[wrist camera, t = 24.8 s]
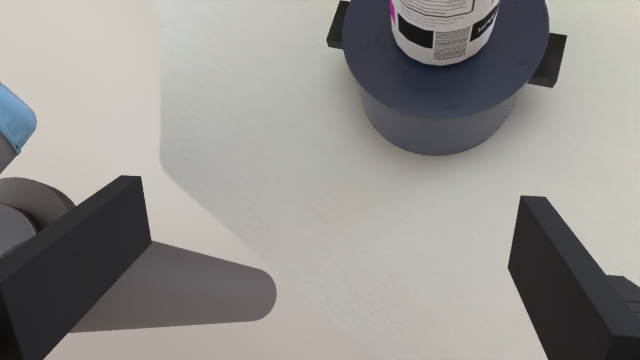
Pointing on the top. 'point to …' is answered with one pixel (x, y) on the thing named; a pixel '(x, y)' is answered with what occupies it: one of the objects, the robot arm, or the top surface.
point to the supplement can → (442, 28)
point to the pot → (445, 75)
